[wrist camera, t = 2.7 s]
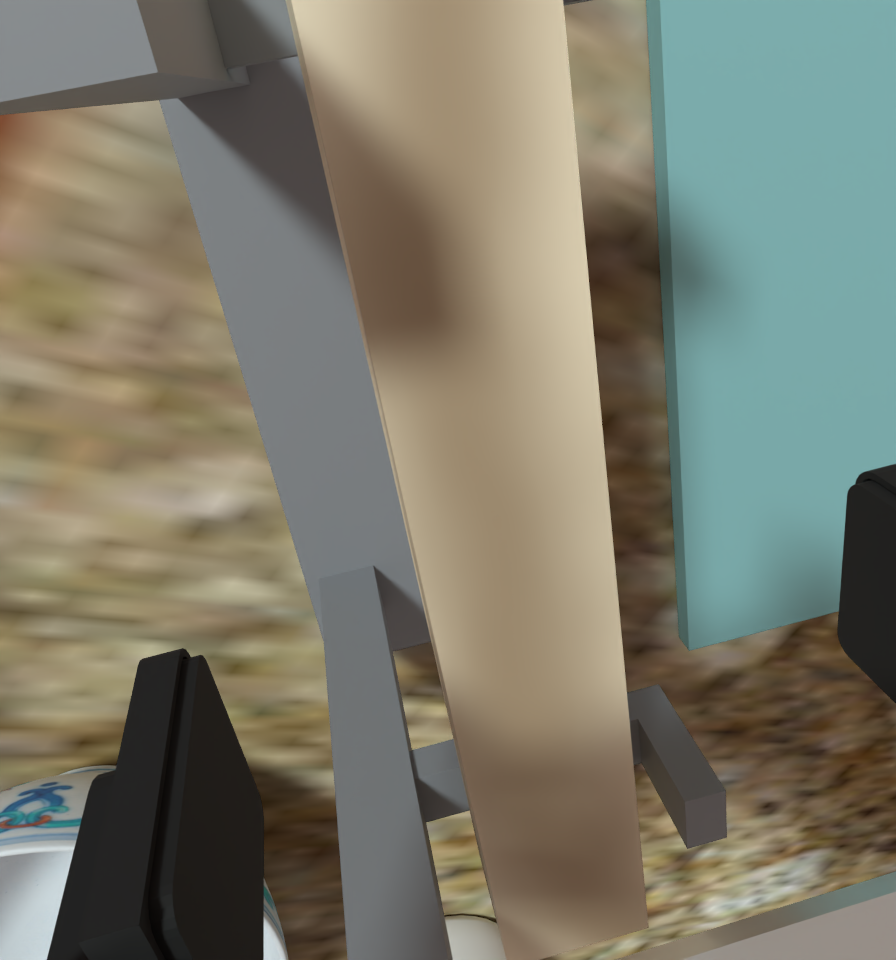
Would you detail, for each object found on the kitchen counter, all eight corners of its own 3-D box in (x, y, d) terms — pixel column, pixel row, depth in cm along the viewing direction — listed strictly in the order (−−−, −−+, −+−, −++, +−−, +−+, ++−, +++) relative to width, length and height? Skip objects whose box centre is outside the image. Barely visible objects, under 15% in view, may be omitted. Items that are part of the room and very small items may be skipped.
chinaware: (339, 869, 38) (351, 1041, 31) (33, 987, 38) (-23, 1188, 31) (194, 626, 31) (169, 779, 24) (-183, 769, 31) (-317, 966, 24)
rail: (473, -280, 12) (527, -384, 9) (606, 830, 23) (648, 927, 20) (231, -241, 12) (215, -338, 9) (482, 865, 23) (508, 969, 20)
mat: (1072, -319, 23) (1104, -335, 22) (953, 564, 37) (969, 576, 36) (633, -247, 22) (648, -261, 21) (679, 636, 35) (689, 650, 35)
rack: (482, -128, 22) (1252, -962, 5) (570, 586, 33) (900, 1157, 16) (115, -64, 21) (-676, -787, 4) (329, 648, 32) (386, 1325, 15)
